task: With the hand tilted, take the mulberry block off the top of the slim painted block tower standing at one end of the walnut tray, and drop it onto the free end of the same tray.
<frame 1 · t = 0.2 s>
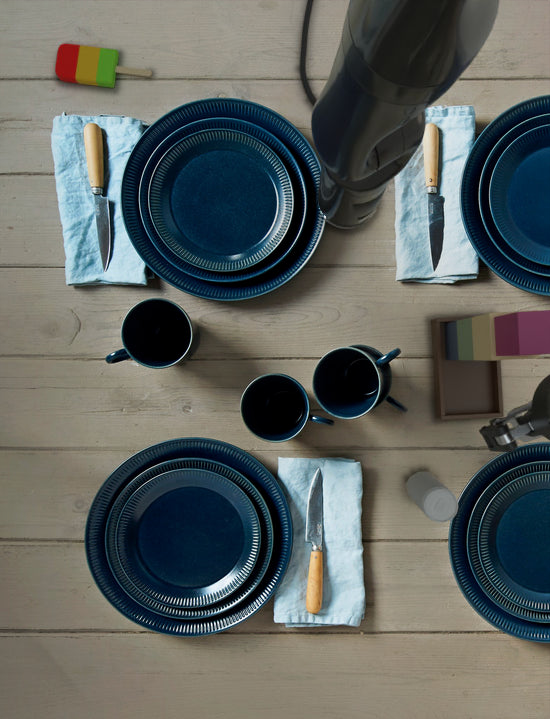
hand: (529, 411, 64), 23 cm above the table, tool pointing down, fingers open, 8 cm apart
mulberry block: (514, 335, 66), point 21 cm above the table, touching block tower
popsicle: (106, 71, 89), on the table
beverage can: (420, 485, 88), on the table
block tower: (462, 341, 87), resting on tray
tray: (463, 367, 87), on the table
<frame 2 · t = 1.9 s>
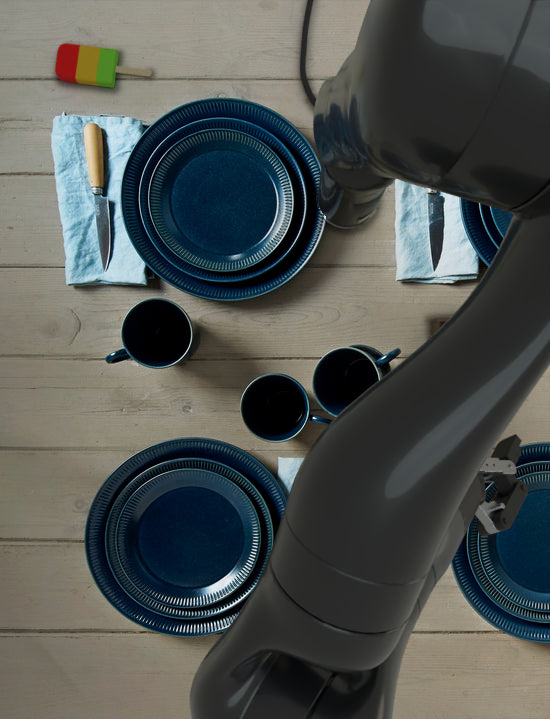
hand: (480, 404, 52), 35 cm above the table, tool tilted 45°, fingers open, 8 cm apart
nothing on the table moved.
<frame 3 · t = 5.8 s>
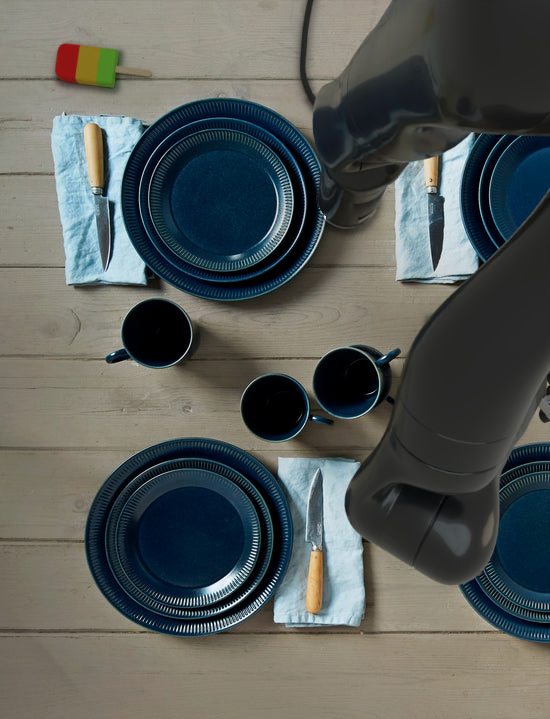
hand: (537, 324, 63), 24 cm above the table, tool tilted 45°, fingers closed on mulberry block, 6 cm apart
mulberry block: (514, 335, 66), point 21 cm above the table, touching block tower, gripper
everything else where it was.
when the fingers open (4 cm above the table, at t = 17.0 s): mulberry block stays where it is, resting on tray.
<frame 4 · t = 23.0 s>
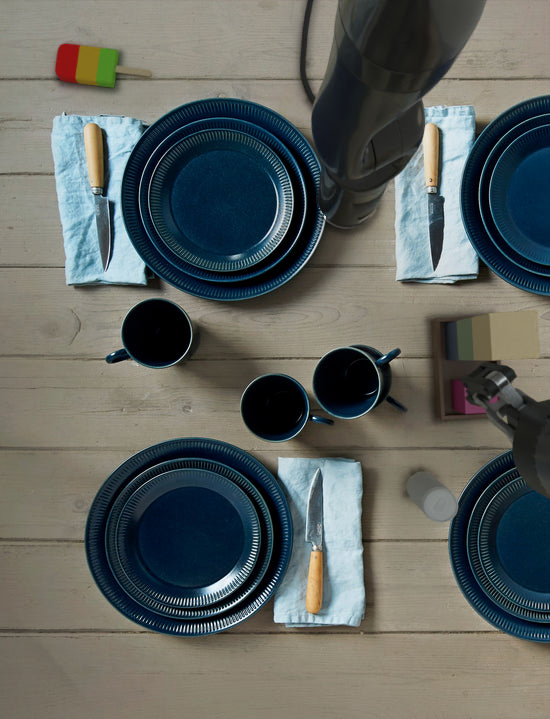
hand: (503, 428, 53), 34 cm above the table, tool pointing down, fingers open, 8 cm apart
mulberry block: (466, 393, 86), point 1 cm above the table, touching tray
everything else where it was.
at the end: mulberry block 0.1 cm from the target spot in the tray, point 0.6 cm above the tray's base; the gripper is holding nothing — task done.
